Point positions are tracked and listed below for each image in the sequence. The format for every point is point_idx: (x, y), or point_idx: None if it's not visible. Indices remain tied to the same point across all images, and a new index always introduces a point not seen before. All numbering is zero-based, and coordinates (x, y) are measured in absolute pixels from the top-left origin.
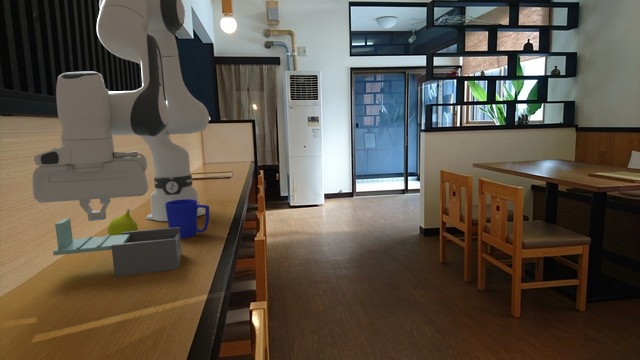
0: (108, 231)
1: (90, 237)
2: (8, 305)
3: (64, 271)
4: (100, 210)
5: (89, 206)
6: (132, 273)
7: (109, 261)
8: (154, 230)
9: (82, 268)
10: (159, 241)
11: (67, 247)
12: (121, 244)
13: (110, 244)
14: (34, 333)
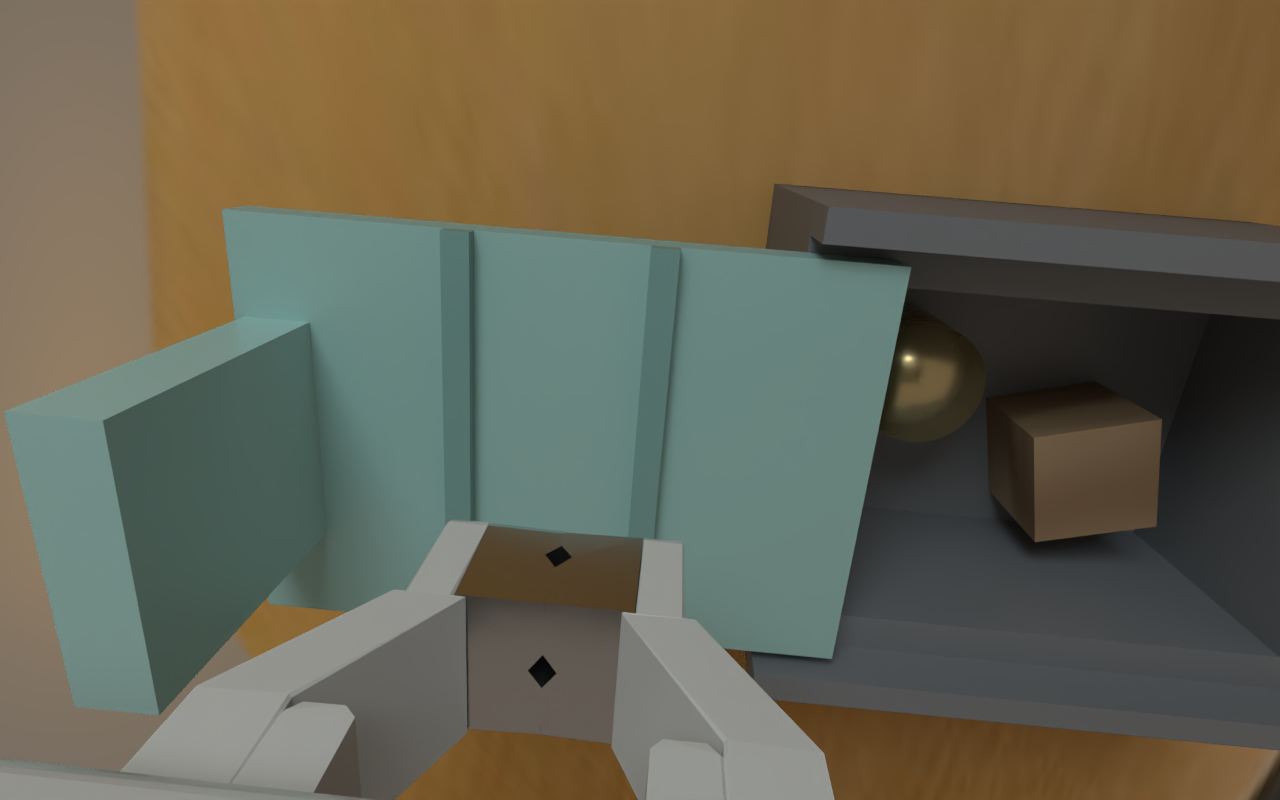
0: None
1: (469, 285)
2: (254, 644)
3: (325, 189)
4: (628, 778)
5: (373, 681)
6: None
7: (628, 63)
8: (1226, 277)
9: (444, 172)
10: (1174, 731)
11: (346, 534)
12: (837, 703)
13: (730, 606)
14: None
